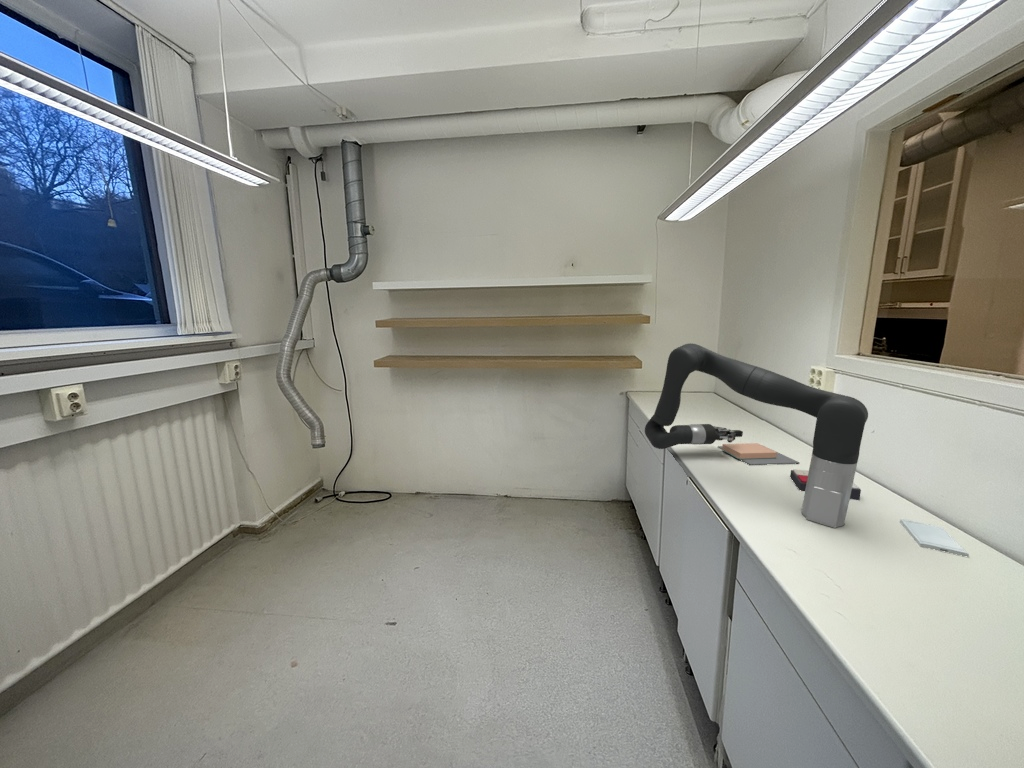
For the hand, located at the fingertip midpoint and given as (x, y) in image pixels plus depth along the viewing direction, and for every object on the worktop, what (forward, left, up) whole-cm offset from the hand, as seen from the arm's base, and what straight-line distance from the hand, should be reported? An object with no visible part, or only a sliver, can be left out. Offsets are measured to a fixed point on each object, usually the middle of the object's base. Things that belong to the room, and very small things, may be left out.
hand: (741, 433), depth 146 cm
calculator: (-11, -26, -10) cm, 30 cm away
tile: (-2, +2, -7) cm, 8 cm away
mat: (+6, -5, -9) cm, 12 cm away
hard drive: (-27, -49, -10) cm, 57 cm away
